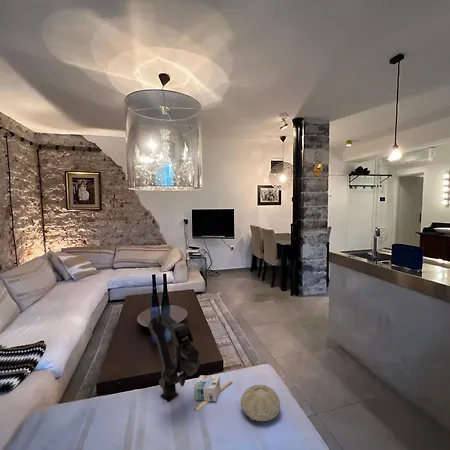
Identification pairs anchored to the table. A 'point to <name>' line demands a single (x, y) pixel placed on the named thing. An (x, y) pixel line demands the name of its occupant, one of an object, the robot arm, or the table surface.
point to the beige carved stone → (260, 403)
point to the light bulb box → (207, 388)
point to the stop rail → (218, 393)
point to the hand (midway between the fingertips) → (182, 385)
